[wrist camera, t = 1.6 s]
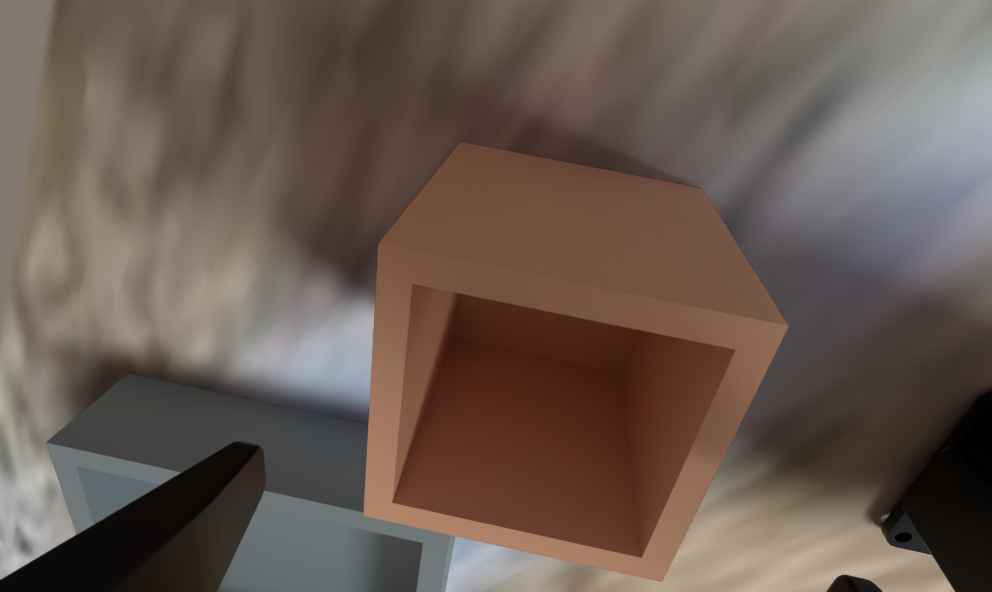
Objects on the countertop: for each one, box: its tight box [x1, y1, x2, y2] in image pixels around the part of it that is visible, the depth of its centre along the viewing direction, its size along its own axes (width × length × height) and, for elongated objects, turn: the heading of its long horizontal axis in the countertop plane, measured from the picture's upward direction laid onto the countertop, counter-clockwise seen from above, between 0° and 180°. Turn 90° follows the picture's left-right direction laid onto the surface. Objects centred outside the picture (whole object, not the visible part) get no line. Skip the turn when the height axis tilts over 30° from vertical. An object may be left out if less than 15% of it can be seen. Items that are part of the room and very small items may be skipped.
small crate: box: [363, 142, 789, 582], centre depth 13 cm, size 6×6×7 cm
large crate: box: [46, 373, 455, 592], centre depth 22 cm, size 13×13×4 cm
